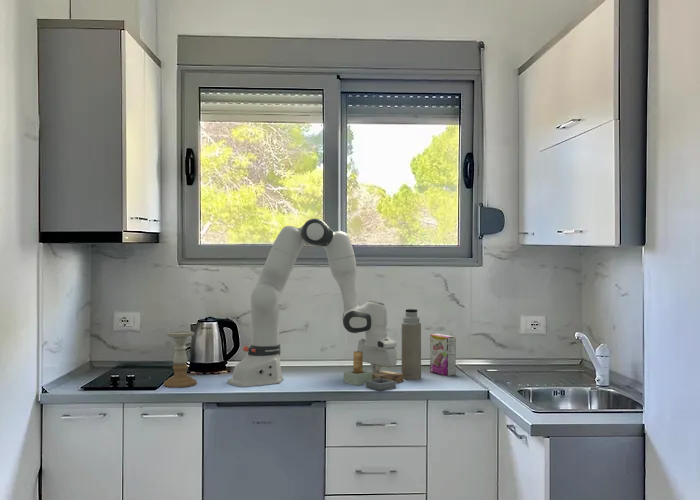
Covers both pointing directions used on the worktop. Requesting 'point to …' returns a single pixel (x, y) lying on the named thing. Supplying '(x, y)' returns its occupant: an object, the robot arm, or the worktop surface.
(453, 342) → the candy bar box
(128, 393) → the worktop surface
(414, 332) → the thermos bottle
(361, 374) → the socket block
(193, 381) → the candle holder
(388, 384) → the tray
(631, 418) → the worktop surface
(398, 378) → the bar
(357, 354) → the dowel
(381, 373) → the tan wooden block
